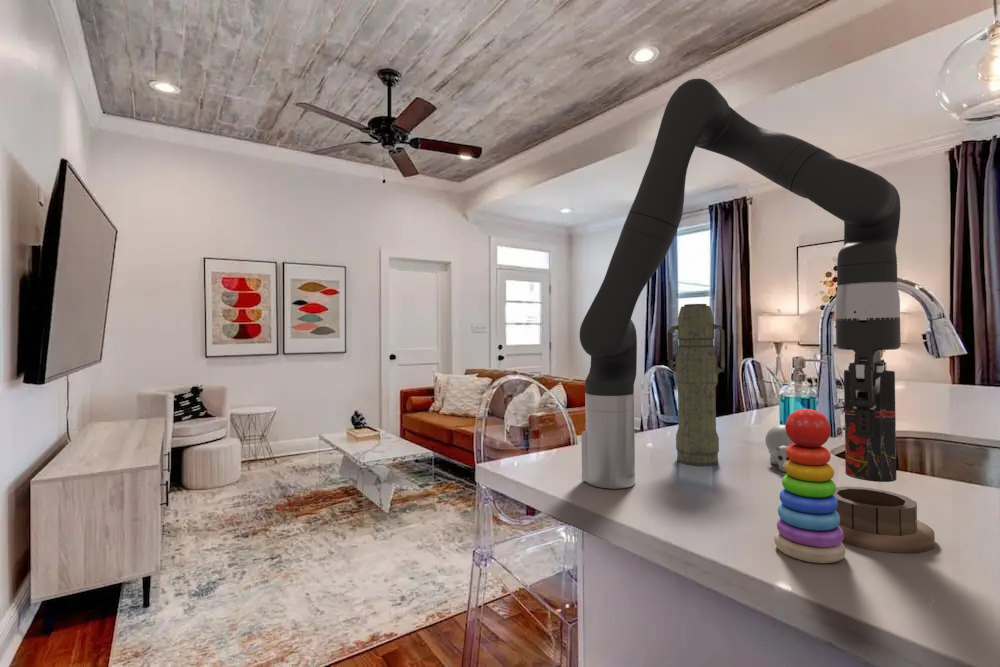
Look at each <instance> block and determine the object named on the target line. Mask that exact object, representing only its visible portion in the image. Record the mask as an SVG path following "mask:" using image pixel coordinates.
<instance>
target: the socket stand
mask: <svg viewBox="0 0 1000 667" xmlns="http://www.w3.org/2000/svg"><path fill="white" fill-rule="evenodd" d="M833 495H834V496H835V497H836V499H837V501H838V507H837V509H836V510H835V511H836V512H837V513H838V514H839V516H840V523H839V525H838V526H839V527H840V528H841V529H842V530H843V533H844V538H843V541H842V543H843V544H846V545H847V544H848V545H851V546H854V547H855V546H856V547H859V548H864V549H867V550H874V551H879V552H880V551H881V552H887V553H898V554H914V553H923V552H928V551H930V550H932V549H933V548H934V547H935V546H936V545H935V544H936V543H935V542H936V541H935V539H936V538H935V531H934V529H933V528H932V527H931V526H929V525H928V524H926V523H924V522H923V521H920V520H918V506H917V505H918V502H917V501H915V500H914V499H912V498H910V497H908V496H906V495H903V494H899V493H896V492H892V491H889V490H884V489H879V488H878V489H877V488H871V487H863V486H836V491H835V493H834V494H833Z"/></svg>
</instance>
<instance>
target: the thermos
mask: <svg viewBox="0 0 1000 667" xmlns="http://www.w3.org/2000/svg"><path fill="white" fill-rule="evenodd" d="M716 329H718V331H719V334H720V335H719V339H720V341H719V342H720V346H719V348H720V351H719V352H720V353H719V354H720V366H718V358H717V355H716V352H715V345H714V339H715V330H716ZM675 330H676V331H677V339H678V346H677V353H676V356H675V359H674V345H673V344H674V343H673V342H674V338H673V335H674V334H673V333H674V332H675ZM725 332H726V331H725V330H724V329H723V328H722V326H721V325H720V324H717V325H716V324H715V317H714V314H713V311H712V308H711V306H710V305H707V303H690V304H689V303H688V304H684V306H681V307H680V310H679V313H678V317H677V325H675V326H674V325H672V326H671V327H670V329H669V330H668V332H667V348H668V349H667V350H668V352H667V353H668V369H669V370H670V371H671V372H673V373H674V374H675V383H676V385H677V416H678V419H677V420H678V425H677V426H678V428H677V430H676V434H675V449H676V453H677V454H676V455H677V457H676V461H677V462H679V463H681V464H684V465H689V466H698V467H709V466H710V467H711V466H715V465H718V464H719V455H718V454H719V452H720V438H719V435H718V432H717V412H716V411H717V410H716V409H717V407H716V406H717V405H716V404H717V403H716V397H717V396H716V386H718V383H719V380H718V379H719V378H718V377H719V376H718V375H719V374H720V373H724V372H725V368H726V353H725V352H726V349H725V348H726V346H725V345H726V341H725V338H726V337H725ZM674 361H675V366H674Z"/></svg>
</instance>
